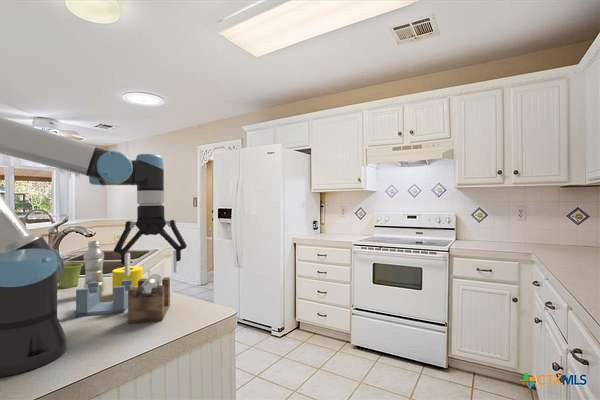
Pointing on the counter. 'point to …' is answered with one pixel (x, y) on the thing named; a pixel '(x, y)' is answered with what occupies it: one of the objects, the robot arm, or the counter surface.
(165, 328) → the counter surface
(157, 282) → the steel axle
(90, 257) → the metal bottle
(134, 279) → the yellow hollow cylinder
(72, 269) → the plant pot
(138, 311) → the bearing stand
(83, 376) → the counter surface
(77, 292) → the blue notched cradle
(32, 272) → the robot arm
